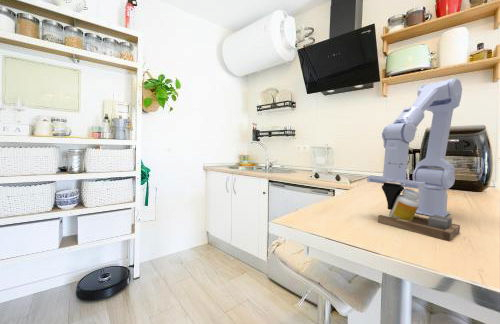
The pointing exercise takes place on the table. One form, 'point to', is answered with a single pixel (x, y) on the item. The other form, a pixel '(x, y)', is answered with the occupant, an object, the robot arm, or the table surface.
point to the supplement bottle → (405, 205)
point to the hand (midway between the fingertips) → (391, 209)
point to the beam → (425, 225)
